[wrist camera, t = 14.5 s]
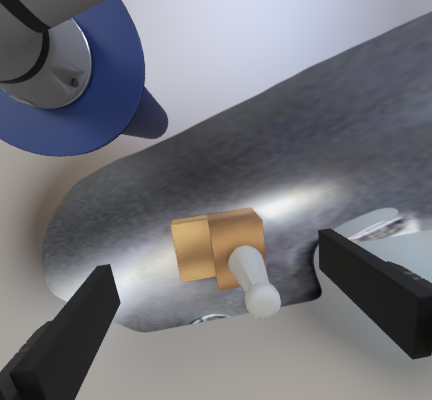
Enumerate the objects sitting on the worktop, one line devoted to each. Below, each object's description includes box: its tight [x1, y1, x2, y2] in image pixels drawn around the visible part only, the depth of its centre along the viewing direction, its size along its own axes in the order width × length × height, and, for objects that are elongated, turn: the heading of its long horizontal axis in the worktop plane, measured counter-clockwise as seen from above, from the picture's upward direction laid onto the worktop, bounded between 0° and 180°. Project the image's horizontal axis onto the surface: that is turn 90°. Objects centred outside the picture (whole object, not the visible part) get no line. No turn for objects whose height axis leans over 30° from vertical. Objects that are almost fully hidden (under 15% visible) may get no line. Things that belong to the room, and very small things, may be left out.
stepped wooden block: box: [171, 208, 267, 290], centre depth 43 cm, size 12×16×8 cm
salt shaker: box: [228, 245, 281, 319], centre depth 33 cm, size 6×6×13 cm
